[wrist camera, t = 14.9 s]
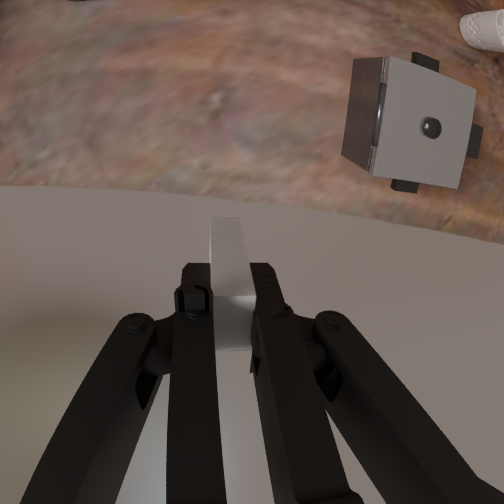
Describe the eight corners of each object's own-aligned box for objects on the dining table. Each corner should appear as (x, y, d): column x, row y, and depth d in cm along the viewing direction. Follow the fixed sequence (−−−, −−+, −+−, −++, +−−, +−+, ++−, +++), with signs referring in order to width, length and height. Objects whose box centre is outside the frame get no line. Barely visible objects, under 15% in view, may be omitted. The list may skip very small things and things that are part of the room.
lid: (381, 54, 29) (387, 53, 28) (483, 94, 32) (490, 96, 31) (364, 172, 37) (369, 176, 36) (465, 189, 40) (471, 192, 38)
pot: (355, 44, 36) (385, 39, 29) (434, 70, 38) (470, 73, 31) (338, 169, 46) (363, 188, 38) (415, 179, 48) (446, 199, 40)
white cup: (463, 52, 37) (503, 55, 28) (451, 11, 33) (490, 8, 24) (488, 50, 36) (527, 54, 27) (478, 12, 32) (515, 10, 23)
